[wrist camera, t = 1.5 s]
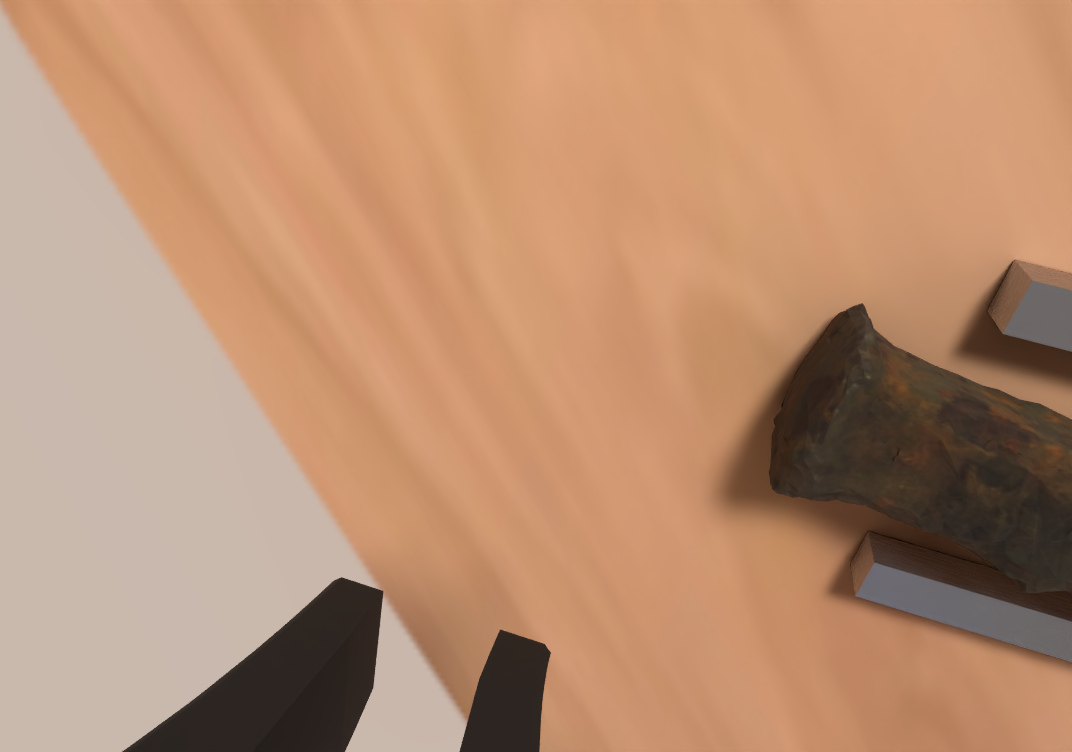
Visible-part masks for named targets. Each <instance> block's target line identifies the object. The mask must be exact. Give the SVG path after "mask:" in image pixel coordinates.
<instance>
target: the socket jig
mask: <svg viewBox="0 0 1072 752" xmlns="http://www.w3.org/2000/svg"><path fill="white" fill-rule="evenodd" d="M987 311H988V313H989V314H990V316H991V317H992V319H993V320H994V322H995V323H996V325H997V326H998V328H999V329H1000V331H1001V332H1002V334H1005V335H1009V336H1013V337H1017V338H1021V339H1024V340H1028V341H1032V342H1036V343H1040V344H1044V345H1048V346H1052V347H1055V348H1059V349H1063V350H1067V351H1071V352H1072V274H1070V273H1066V272H1062V271H1058V270H1054V269H1050V268H1046V267H1042V266H1038V265H1034V264H1030V263H1026V262H1022V261H1018V260H1014V262H1013V264H1012V265H1011V267H1010V269H1009V271H1008V273H1007V275H1006V277H1005V278H1004V280H1003V282H1002V284H1001V286H1000V288H999V290H998V291H997V293H996V295H995V297H994V299H993V301H992V303H991V304H990V306H989V308H988V310H987ZM850 566H851V572H852V578H853V584H854V590H855V596H856V597H859V598H863V599H866V600H869V601H873V602H876V603H879V604H882V605H886V606H889V607H892V608H895V609H899V610H902V611H905V612H909V613H912V614H915V615H918V616H922V617H925V618H928V619H932V620H935V621H938V622H941V623H945V624H948V625H951V626H954V627H958V628H961V629H964V630H968V631H971V632H974V633H977V634H981V635H984V636H987V637H990V638H994V639H997V640H1000V641H1004V642H1007V643H1010V644H1013V645H1017V646H1020V647H1023V648H1026V649H1030V650H1033V651H1036V652H1040V653H1043V654H1046V655H1049V656H1053V657H1056V658H1059V659H1063V660H1066V661H1069V662H1072V593H1070V592H1067V591H1049V592H1038V593H1026V592H1025V591H1023V590H1022V589H1021V588H1020V587H1019V586H1018V585H1017V584H1016V583H1015V582H1014V580H1013V579H1012V578H1009V577H1008V576H1007V575H1005V574H1004V573H1003V572H1001V571H1000V570H997V569H994V568H990V567H987V566H984V565H980V564H977V563H973V562H970V561H967V560H963V559H960V558H956V557H953V556H950V555H946V554H943V553H939V552H936V551H933V550H929V549H926V548H922V547H919V546H916V545H912V544H909V543H905V542H902V541H899V540H895V539H892V538H888V537H885V536H882V535H878V534H875V533H872V532H868V533H867V534H866V536H865V538H864V540H863V542H862V544H861V546H860V547H859V549H858V551H857V553H856V555H855V557H854V559H853V560H852V562H851V564H850Z"/></svg>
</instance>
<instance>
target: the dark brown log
mask: <svg viewBox="0 0 1072 752" xmlns="http://www.w3.org/2000/svg"><path fill="white" fill-rule="evenodd" d="M774 424H775V428H774V431H773V434H772V447H771V466H770V471H769V476H770V484H771V486H772V489H773V490H774V491H775V492H777V493H779V494H784V495H787V496H790V497H802V498H806V499H810V500H819V501H830V500H835V499H838V500H840V501H843V502H848V503H854V504H860V505H865V506H867V507H870V508H872V509H874V510H876V511H879V512H882V513H884V514H886V515H888V516H890V517H892V518H894V519H896V520H899V521H901V522H904V523H906V524H909V525H912V526H914V527H916V528H919V529H921V530H923V531H925V532H928V533H933V534H935V535H938V536H941V537H944V538H946V539H948V540H951V541H953V542H955V543H957V544H959V545H961V546H963V547H965V548H967V549H969V550H970V551H972V552H973V553H975V554H976V555H978V556H979V557H980V558H982V559H983V560H985V561H987V562H989V563H991V564H992V565H994V566H995V567H996V568H997V569H999V570H1000V571H1001V572H1003V573H1004V574H1005V575H1007V576H1008V577H1009V578H1012V579H1013V580H1014V582H1015V583H1016V584H1017V585H1018V586H1019V587H1020V588H1021V589H1022V590H1023V591H1025V592H1026V593H1038V592H1049V591H1067V592H1070V593H1072V420H1071V419H1069V418H1067V417H1065V416H1063V415H1061V414H1059V413H1057V412H1055V411H1053V410H1051V409H1049V408H1047V407H1045V406H1043V405H1041V404H1038V403H1034V402H1029V401H1024V400H1019V399H1017V398H1015V397H1013V396H1011V395H1009V394H1007V393H1004V392H1002V391H1000V390H998V389H994V388H990V387H986V386H982V385H980V384H978V383H975V382H973V381H971V380H969V379H967V378H964V377H962V376H960V375H958V374H956V373H953V372H950V371H947V370H945V369H942V368H939V367H937V366H934V365H932V364H930V363H928V362H926V361H924V360H922V359H920V358H918V357H916V356H914V355H912V354H910V353H908V352H906V351H904V350H902V349H900V348H897V347H895V346H893V345H892V344H891V343H890V342H889V341H888V340H886V339H885V338H884V337H883V336H882V335H880V334H879V333H878V332H877V331H876V330H875V329H874V328H873V325H872V322H871V319H870V318H869V317H868V314H867V311H866V309H865V306H864V305H863V303H862V304H859V305H856V306H853V307H851V308H849V309H847V310H846V311H843V312H840V313H839V314H838V315H837V316H836V317H835V318H834V319H833V320H832V322H831V323H830V325H829V327H828V329H827V330H826V332H825V334H824V335H823V336H822V338H821V339H820V340H819V342H818V343H817V344H816V345H815V347H814V348H813V349H812V350H811V351H810V353H809V354H808V355H807V356H806V358H805V360H804V361H803V363H802V364H801V366H800V368H799V370H798V371H797V373H796V375H795V376H794V379H793V381H792V383H791V386H790V388H789V390H788V392H787V394H786V397H785V399H784V401H783V403H782V409H781V412H780V413H779V414H778V415H777V416H776V418H775V419H774Z"/></svg>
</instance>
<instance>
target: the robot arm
mask: <svg viewBox="0 0 1072 752" xmlns="http://www.w3.org/2000/svg"><path fill="white" fill-rule="evenodd" d="M382 599H383V591H381V590H378V589H375V588H372V587H369V586H366V585H363V584H360V583H357V582H354V581H351V580H348V579H345V578H339V579H337V580H335V581H333V582H332V583H331V584H330V585H329V586H328V587H326V588H325V589H324V590H323V591H322V592H321V593H320V594H319V595H318V596H317V597H316V598H315V599H314V600H312V601H311V602H310V603H309V604H308V605H307V606H306V607H305V608H304V609H302V611H300V612H299V613H298V614H297V615H296V616H295V617H294V618H293V619H291V620H290V621H289V622H288V623H287V624H285V625H284V626H283V627H282V628H281V629H280V630H279V631H278V632H276V633H275V634H274V635H273V636H272V637H270V638H269V639H268V640H267V641H266V642H264V643H263V644H262V645H261V646H260V647H259V648H258V649H256V650H255V651H254V652H253V653H251V654H250V655H249V656H248V657H246V658H245V659H244V660H243V661H241V662H240V663H239V664H238V665H236V666H235V667H234V668H233V669H231V670H230V671H229V672H228V673H226V674H225V675H224V676H223V677H221V678H220V679H219V680H218V681H216V682H215V683H214V684H213V685H212V686H210V687H209V688H208V689H207V690H205V691H204V692H203V693H201V694H200V695H199V696H198V697H196V698H195V699H194V700H192V701H191V702H190V703H189V704H187V705H186V706H184V707H183V708H182V709H180V710H179V711H178V712H176V713H175V714H173V715H172V716H171V717H169V718H168V719H167V720H165V721H164V722H162V723H161V724H160V725H158V726H157V727H156V728H154V729H153V730H152V731H150V732H149V733H147V734H146V735H145V736H143V737H142V738H141V739H139V740H138V741H137V742H135V743H134V744H132V745H131V746H130V747H128V748H127V749H126V750H124V751H123V752H345V750H346V748H347V746H348V744H349V741H350V739H351V737H352V735H353V733H354V730H355V728H356V726H357V724H358V721H359V719H360V717H361V715H362V712H363V710H364V708H365V705H366V703H367V701H368V699H369V696H370V694H371V692H372V689H373V685H374V675H375V665H376V656H377V645H378V636H379V627H380V618H381V608H382ZM550 654H551V653H550V651H549V650H548V648H547V647H546V645H545V644H543V643H540V642H537V641H533V640H530V639H527V638H524V637H521V636H518V635H515V634H512V633H509V632H506V631H503V630H500V631H499V633H498V636H497V638H496V640H495V643H494V645H493V647H492V650H491V652H490V654H489V657H488V659H487V662H486V664H485V666H484V669H483V671H482V674H481V676H480V679H479V682H478V686H477V689H476V693H475V697H474V700H473V704H472V708H471V712H470V715H469V719H468V723H467V726H466V730H465V734H464V737H463V741H462V745H461V749H460V752H539V747H540V727H541V711H542V700H543V691H544V684H545V678H546V672H547V666H548V662H549V658H550Z"/></svg>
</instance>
